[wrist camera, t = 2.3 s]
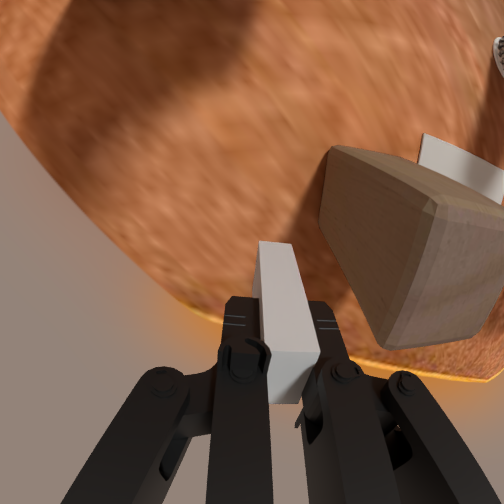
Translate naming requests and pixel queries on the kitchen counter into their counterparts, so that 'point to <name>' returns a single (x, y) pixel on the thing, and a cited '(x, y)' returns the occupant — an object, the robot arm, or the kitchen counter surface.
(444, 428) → the robot arm
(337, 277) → the kitchen counter surface
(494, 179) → the mat
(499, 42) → the decorative candle
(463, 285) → the wooden block
